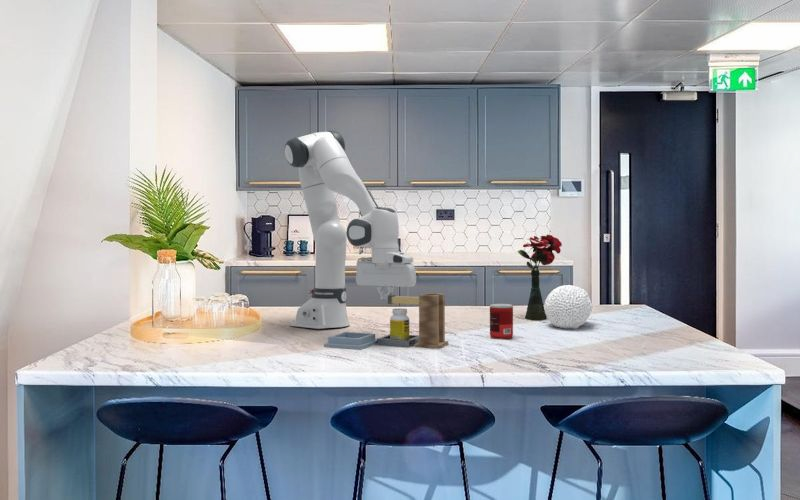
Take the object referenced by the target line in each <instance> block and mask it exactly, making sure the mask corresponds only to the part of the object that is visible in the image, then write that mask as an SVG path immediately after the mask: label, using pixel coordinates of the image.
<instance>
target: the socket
mask: <svg viewBox="0 0 800 500" xmlns="http://www.w3.org/2000/svg"><path fill="white" fill-rule="evenodd" d="M376 340H377V344H376V345H377V346H386V347H387V346H388V347H399V348H400V347H401V348H411V347H413V346H415V344H416V343H418V342H419V334H418V335H417V334H415V335H414V334H409V340H397V339H390V333H389V334H386V335H383V336H380V337H378V338H376Z"/></svg>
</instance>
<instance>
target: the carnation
mask: <svg viewBox="0 0 800 500" xmlns="http://www.w3.org/2000/svg"><path fill="white" fill-rule="evenodd" d="M539 237H540V239H539ZM539 237H538V236H536V235H533V237H530V236H529V238H528V237H526V240H528V241H529V242H530V243H529V242H525V243H523V245H522V247H523V248H529V247H531V248H530V250H529V251H531V250H532V254H531V256H530V255H529V254H528V253H527V251H525V250H524V249H518V250H517V251H516V252H517V253H518V254H519V255H520V256H522V257H523V258H525V259H528V260H529V261H526V266H527V267H528V268H529V269H531V270H530V275H531V281H530V282H531V288H530V293H529V299H528V303H527V308H526V312H525V316H524V319H525V320H529V321H545V320H548V317H547V315H546V312H545V308H544V306H545V304H544V302H543V297H542V291H541V287H540V270H539V267H540V266H539V265H540V263H541V265H542V266H548V265H551V264H552V263H553V262H554V260H555V257H556V256H555V254H554V252H555V253H556V254H560V253H561V247H562V246H563V244H562V241H560V239H559V238H557V237H555V236H553V235H551V234H546V235H541V236H539ZM553 251H554V252H553ZM532 262H533V263H534V266H533V264H532Z"/></svg>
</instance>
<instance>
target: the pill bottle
mask: <svg viewBox="0 0 800 500" xmlns="http://www.w3.org/2000/svg"><path fill="white" fill-rule="evenodd" d="M407 314H408V309H407V308H401V307H399V308H393V309H392V315H391V316H390V319H389V326H390V327H389V334H390V339H397V340H409V335H410V317H409V316H408V315H407Z"/></svg>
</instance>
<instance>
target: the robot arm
mask: <svg viewBox="0 0 800 500" xmlns="http://www.w3.org/2000/svg"><path fill="white" fill-rule="evenodd" d="M345 151H346V142H345V139H344V136H343V135H342V134H341V133H340V132H339V131H336V130H328V131H319V132H312V133H310V134H307V135H303V136H299V137H293V138H290V139H288V140H287V141H286V143H285V145H284V155H285V159H286V160H287V161H286V162H287V163H288V164H289V165H290V166H291V167H293V168H298V177H299V183H300V184H299V185H300V188H301V191H302V195H303V199H304V203H305V206H306V209H307V213H308V214H307V215H308V219H309V223H310V228H311V232H312V236H313V239H314V243H315V244H316V245H315V266H314V267H315V268H314V269H315V270H314V271H315V272H314V274H315V275H314V276H315V279H314V281H315V283H314V285H315V287H314V288H313V289H311V290H309V293H308V294H309V295H310V294H311V296H310V298H309V300H307V301H305V303H303V304H302V305H301V306H300V307H298V308H297V311H296V314H295V315H296V316H295V320H294V321H290V323H289V326H291V327H300V328H308V329H309V328H310V329H316V330H321V329H330V328H344V327H348V326H350V321H349V317H348V312H347V303H346V302H347V288H346V256H347V241H348V242H349V243H350V245H351V246H354V247H357V248H371V257H370V256H369V257H364V256H362V257H361V256H360V258H359V259H357V260H356V272H355V273H356V274H355V275H356V276H355V283H356V285H357V286H365V287H376V290H377V291H378V294H379V296H380V301H388V296H390V295H393V292H394V291H395V288H397V287H399V288H401V287H402V288H403V287H404V288H405V287H406V288H409V287H410V288H411V287H415V286H416V283H417V274H416V267H415V265H414V264H413V262H414V257H413V256H412V255H410V254H407V253H404V252H401V251H400V245H399V243H398V241H399V239H398V238H399V235H400V232H399V231H400V230H399V218H398V213H397V211H396V210H395V209H393V208H391V207H383V206H378V204H377V202H376V200H375V199H374V197H373V195H372V194H371V192H370V190H369V189H368V186H367V185H366V184H365V183H364V181H363V180H362V179H361V178H360V177H359V175H358V174H357V172H356V171H355V169H354V167H353V166H352V164H351V162H350V159H349V158H348V156H347V153H346V152H345ZM334 193H337V194H339V195H341V196H343V197H346V198H347V199H349V200H351V201H352V202H353V203H354V204H355V205H356V206H357V208H358V210H359V212H360V214H361V215H362V216H360V217H358V218H354V219H352V220H351V221H349V223H348V224H347V227H346V229H345V227H344V226H343V225H342V223H341V222H340V217H339V213H338V206H337V205H338V204H337V201H336V200H337V199H336V197H335V194H334ZM385 287H386V289H387V294H386V293H385V292H384V289H385Z"/></svg>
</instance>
